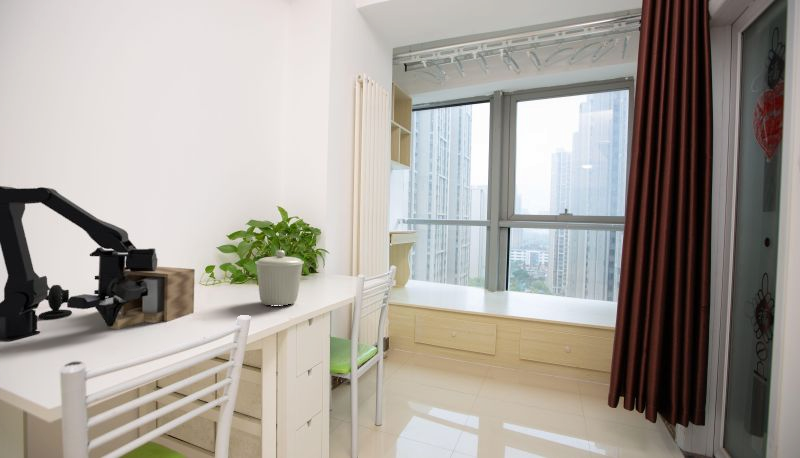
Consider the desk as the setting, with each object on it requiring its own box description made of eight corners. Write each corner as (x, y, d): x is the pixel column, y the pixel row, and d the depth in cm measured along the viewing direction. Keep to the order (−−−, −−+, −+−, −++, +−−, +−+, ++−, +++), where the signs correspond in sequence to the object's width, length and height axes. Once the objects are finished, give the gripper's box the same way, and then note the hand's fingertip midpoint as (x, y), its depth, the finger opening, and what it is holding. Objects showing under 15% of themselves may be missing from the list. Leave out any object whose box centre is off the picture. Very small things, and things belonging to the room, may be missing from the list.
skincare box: (150, 312, 114) (150, 276, 114) (164, 311, 115) (165, 276, 115) (141, 317, 108) (142, 279, 108) (157, 316, 109) (157, 279, 109)
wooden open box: (166, 321, 107) (167, 274, 107) (120, 317, 110) (121, 270, 110) (193, 312, 118) (194, 269, 118) (150, 308, 121) (151, 266, 121)
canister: (279, 296, 147) (281, 247, 146) (312, 302, 138) (314, 250, 138) (243, 305, 130) (244, 249, 130) (278, 312, 122) (279, 253, 122)
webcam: (71, 317, 108) (71, 285, 108) (36, 321, 103) (36, 288, 103) (72, 311, 114) (72, 281, 113) (40, 315, 109) (40, 284, 109)
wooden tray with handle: (129, 330, 98) (129, 321, 98) (98, 326, 101) (98, 317, 101) (181, 314, 116) (181, 306, 116) (154, 311, 118) (154, 303, 118)
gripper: (102, 278, 88) (100, 339, 88) (164, 269, 106) (162, 320, 106) (66, 275, 90) (64, 335, 90) (133, 267, 108) (131, 316, 108)
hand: (110, 326), depth 98 cm, fingers closed
